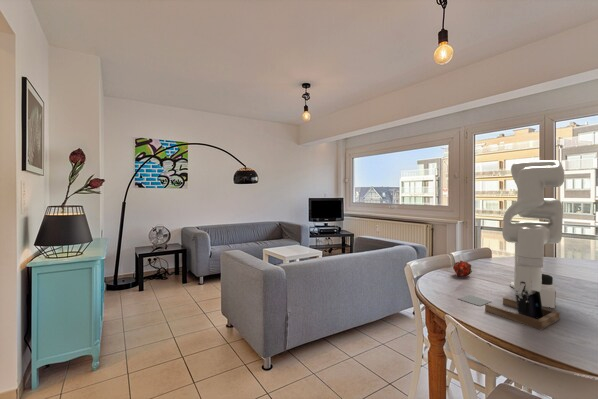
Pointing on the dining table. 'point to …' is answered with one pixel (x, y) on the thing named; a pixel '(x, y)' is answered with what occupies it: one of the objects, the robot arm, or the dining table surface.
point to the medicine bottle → (547, 292)
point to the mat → (474, 300)
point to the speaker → (532, 305)
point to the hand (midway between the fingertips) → (528, 310)
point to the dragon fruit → (462, 268)
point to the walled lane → (537, 323)
